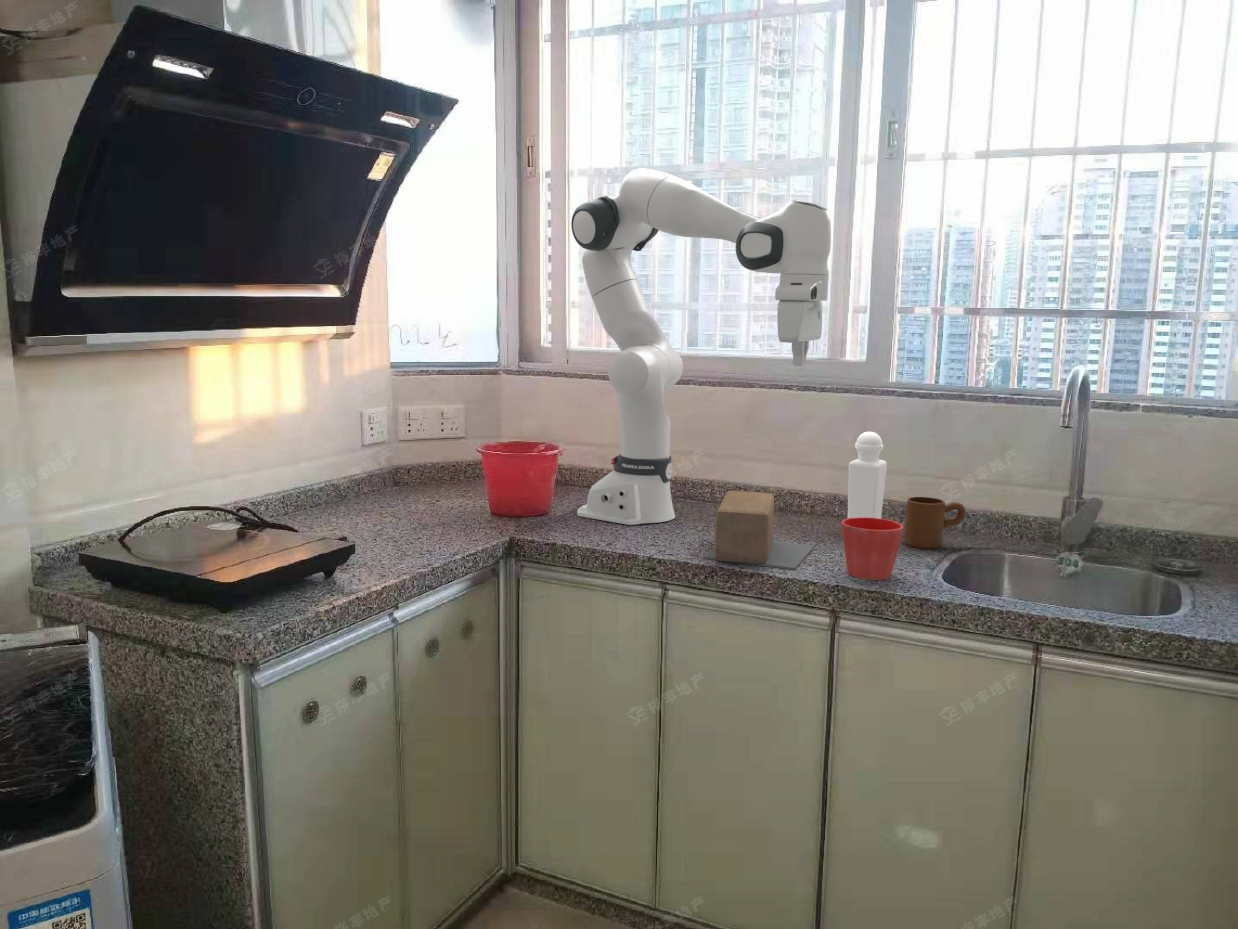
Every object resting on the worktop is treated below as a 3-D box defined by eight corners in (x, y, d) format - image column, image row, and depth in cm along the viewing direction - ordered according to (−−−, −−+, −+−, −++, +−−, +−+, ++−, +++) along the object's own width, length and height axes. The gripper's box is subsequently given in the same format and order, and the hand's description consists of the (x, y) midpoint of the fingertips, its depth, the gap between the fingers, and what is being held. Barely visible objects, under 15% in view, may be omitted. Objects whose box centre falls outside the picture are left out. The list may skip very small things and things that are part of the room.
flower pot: (854, 562, 182) (857, 513, 181) (909, 574, 175) (912, 523, 174) (828, 574, 174) (831, 523, 173) (884, 587, 167) (888, 533, 166)
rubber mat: (702, 558, 183) (702, 556, 183) (728, 537, 200) (729, 535, 200) (794, 570, 177) (794, 568, 177) (814, 547, 193) (814, 545, 193)
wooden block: (769, 513, 176) (774, 492, 195) (715, 510, 178) (726, 489, 198) (766, 565, 178) (772, 539, 197) (713, 561, 180) (724, 536, 199)
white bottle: (873, 536, 203) (880, 434, 199) (844, 532, 206) (850, 431, 202) (882, 530, 208) (889, 431, 204) (853, 526, 211) (859, 428, 208)
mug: (957, 541, 200) (960, 497, 199) (968, 550, 193) (972, 505, 191) (899, 539, 201) (902, 495, 199) (908, 548, 193) (912, 503, 192)
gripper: (799, 291, 187) (795, 361, 189) (772, 289, 168) (768, 367, 171) (832, 291, 184) (827, 363, 187) (808, 290, 166) (803, 369, 168)
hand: (799, 365), depth 178 cm, fingers closed
